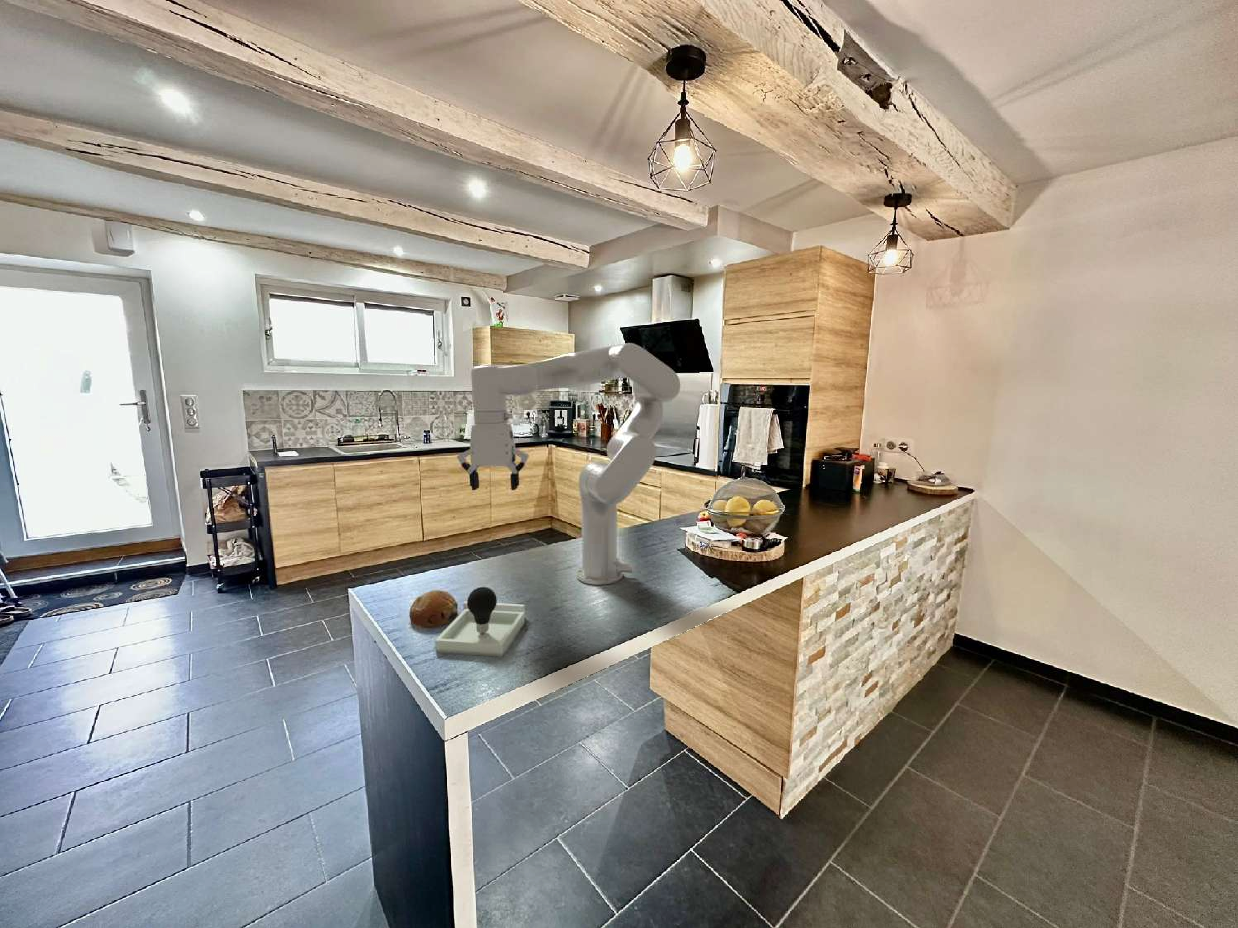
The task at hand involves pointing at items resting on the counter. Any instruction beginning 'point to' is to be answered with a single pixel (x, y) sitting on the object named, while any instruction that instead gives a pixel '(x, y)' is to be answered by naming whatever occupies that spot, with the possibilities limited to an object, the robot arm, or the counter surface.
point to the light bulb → (482, 607)
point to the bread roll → (433, 609)
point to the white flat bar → (505, 607)
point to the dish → (469, 641)
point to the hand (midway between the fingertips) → (495, 489)
